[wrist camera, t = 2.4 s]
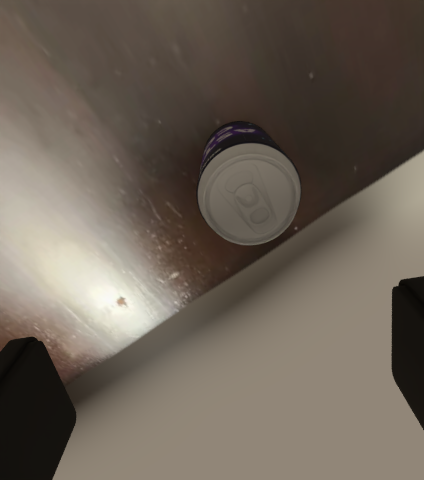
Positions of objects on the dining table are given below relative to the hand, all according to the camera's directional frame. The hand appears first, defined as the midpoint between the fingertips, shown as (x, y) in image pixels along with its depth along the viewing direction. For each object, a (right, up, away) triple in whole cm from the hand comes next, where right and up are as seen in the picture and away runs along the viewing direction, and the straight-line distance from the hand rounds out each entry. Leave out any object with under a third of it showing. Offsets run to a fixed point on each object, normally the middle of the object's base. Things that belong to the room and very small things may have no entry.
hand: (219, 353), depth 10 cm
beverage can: (+2, +10, +20) cm, 22 cm away
